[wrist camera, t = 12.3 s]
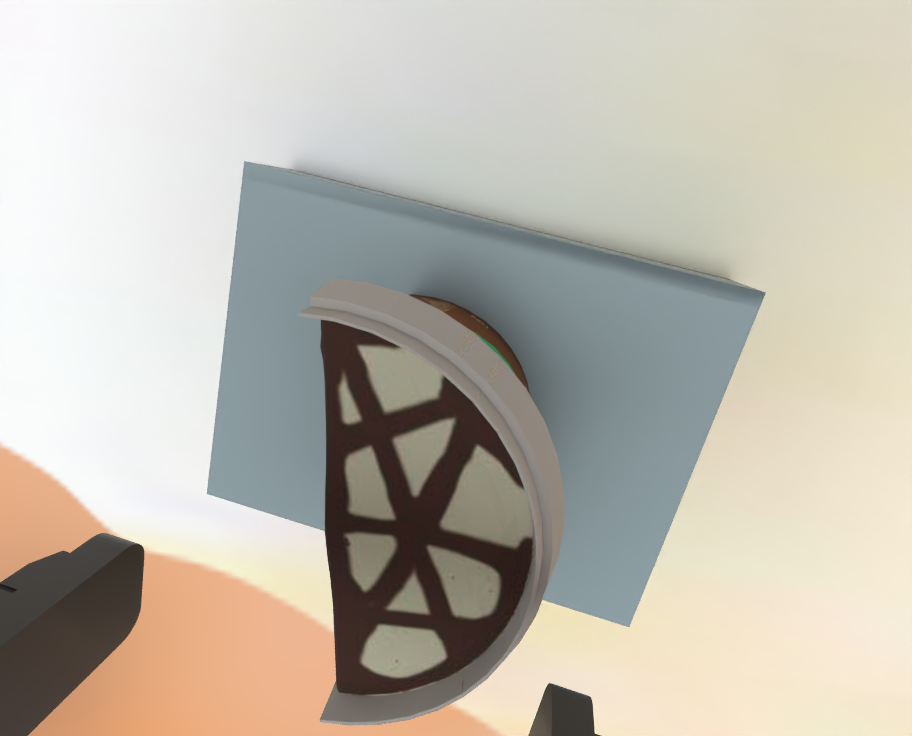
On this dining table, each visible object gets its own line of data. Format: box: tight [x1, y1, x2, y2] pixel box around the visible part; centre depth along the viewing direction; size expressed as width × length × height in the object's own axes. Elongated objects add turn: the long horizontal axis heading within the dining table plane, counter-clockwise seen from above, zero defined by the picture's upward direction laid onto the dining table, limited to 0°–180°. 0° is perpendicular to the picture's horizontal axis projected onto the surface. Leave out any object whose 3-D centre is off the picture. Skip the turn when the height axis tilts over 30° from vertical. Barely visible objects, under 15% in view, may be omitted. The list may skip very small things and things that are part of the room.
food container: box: [298, 278, 564, 725], centre depth 18 cm, size 12×6×10 cm, turn 178°
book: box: [207, 161, 765, 627], centre depth 25 cm, size 20×15×4 cm
